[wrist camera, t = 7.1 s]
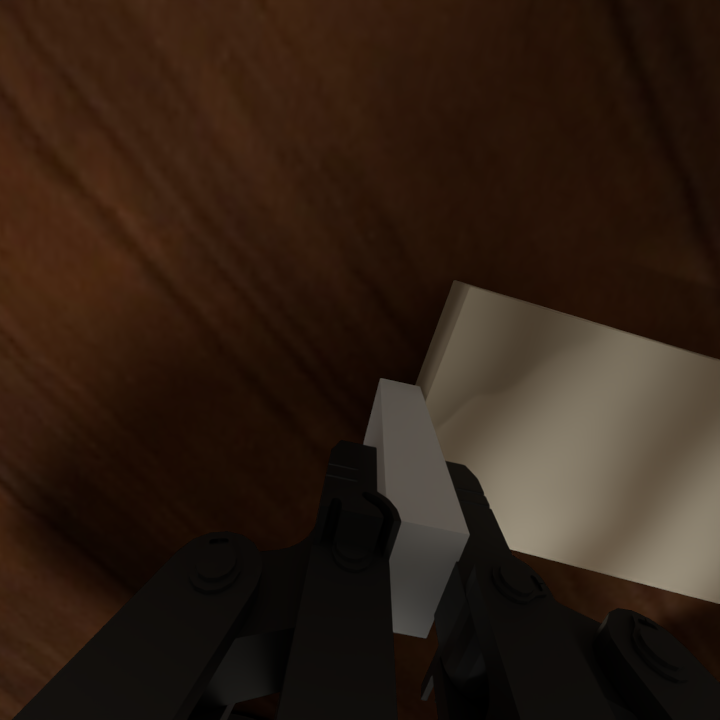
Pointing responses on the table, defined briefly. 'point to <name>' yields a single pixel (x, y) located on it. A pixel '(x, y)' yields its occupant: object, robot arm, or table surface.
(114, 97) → the table surface
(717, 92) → the table surface
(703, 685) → the robot arm
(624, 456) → the panel
